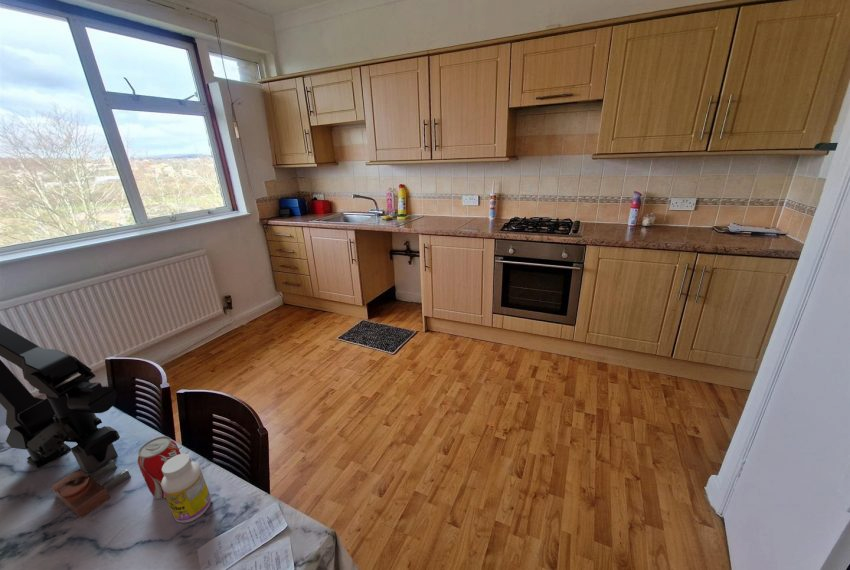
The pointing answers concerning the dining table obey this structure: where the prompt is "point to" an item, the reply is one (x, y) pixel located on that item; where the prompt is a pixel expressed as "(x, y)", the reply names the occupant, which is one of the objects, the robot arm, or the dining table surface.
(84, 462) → the grey stepped block
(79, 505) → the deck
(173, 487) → the supplement bottle
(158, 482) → the soda can
